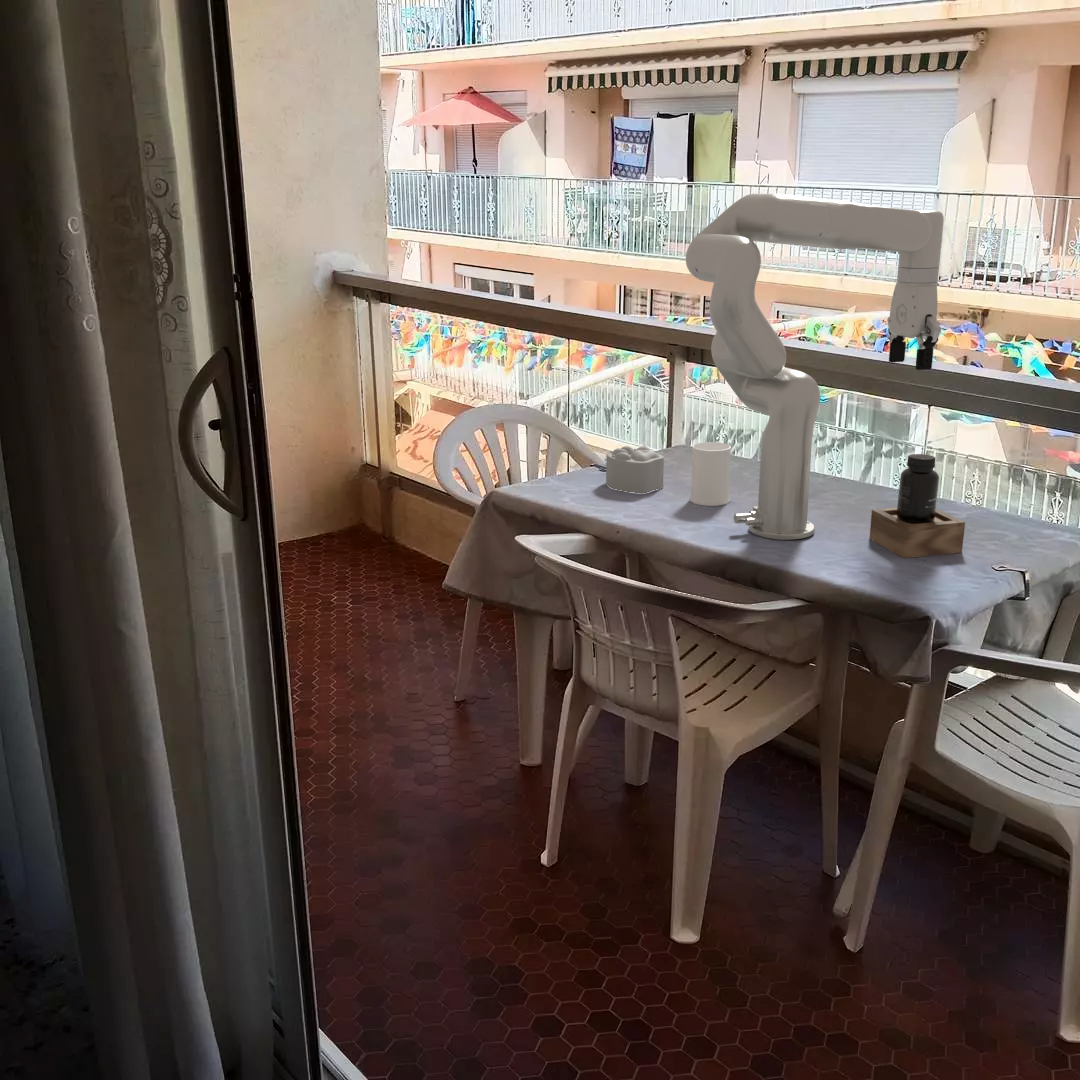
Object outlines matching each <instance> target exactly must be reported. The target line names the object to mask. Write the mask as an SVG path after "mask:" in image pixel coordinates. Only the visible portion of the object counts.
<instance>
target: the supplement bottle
mask: <svg viewBox="0 0 1080 1080" xmlns="http://www.w3.org/2000/svg"><path fill="white" fill-rule="evenodd" d="M906 466H907V468H905V469H904V470H902V472H901V473H900V477H899V484H898V485H899V486H898V487H899V488H898V497H897V506H896V507H897V517H898V519H900V520H901V521H904V522H908V523H916V524H921V523H930V522H932V521H933V520H934V518H935V511H936V508H937V501H938V491H939V482H940V476H939V473H938V472H937V471H935V470H934V469H935V468H936V457H935V456H933V455H930V454H923V453H913V454H909V455H908V456H907V462H906Z"/></svg>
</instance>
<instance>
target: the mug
mask: <svg viewBox="0 0 1080 1080" xmlns="http://www.w3.org/2000/svg"><path fill="white" fill-rule="evenodd" d="M691 451H692V452H691V453H692V456H691V457H692V459H691V484H690V485H691V489H690V490H691V491H690V496H689V501H690V502H691V503H692V502H693V504H695V505H697V506H698V505H699V506H704V507H705V506H707V507H708V506H709V507H719V506H724V505H727V504H729V503H730V501H731V497H730V480H731V479H730V477H731V456H732V455H731V453H732V446H731V445H729V444H728V443H724V442H716V441H712V442H711V441H705V442H703V441H702V442H698V443H695V444H693V445H692V450H691Z"/></svg>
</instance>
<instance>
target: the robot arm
mask: <svg viewBox="0 0 1080 1080" xmlns="http://www.w3.org/2000/svg"><path fill="white" fill-rule="evenodd" d="M944 217H945V216H944V214H943V212H941V210H940V211H939V210H936V209H906V208H897V207H896V208H895V207H889V206H888V207H887V206H877V205H870V204H862V203H857V202H850V201H847V200H846V201H845V200H839V199H838V200H836V199H831V198H830V199H827V198H819V197H811V196H802V195H793V194H785V193H784V194H783V193H750V194H746V195H744V196H743V197H741V198H739V199H738V200H736V201H735V202H734V203H733V204H731V205H730V206H729V207H728V208H727V209H725V210H724V211H723V212H722V213H720V215H719V216H717V217H716V218H715V219H714V220H713V221H712V222H710V223H709V224H708V225H707V226H705V228H704V229H702V230H701V231H700V232H699V233H698V234H697V235H695V236H694V238H693V239H692V240H691V242H690V243H689V245H688V247H687V250H686V253H685V264H686V268H687V270H688V271H689V273H690V274H691V275H692V276H693V277H694V278H695V279H697V280H700V281H704V282H709V283H713V284H712V289H711V293H710V300H709V312H708V314H709V318H710V321H711V323H712V325H713V327H714V329H715V331H716V332H715V334H714V336H713V337H712V341H711V349H710V350H711V353H710V354H711V357H712V361H713V362H714V366H715V367H716V369H717V370H718V372H719V373H720V374H721V376H722V377H723V378H724V380H725V382H726V383H727V384H728V386H729V387H730V389H731V390H732V392H734V394H735V395H736V397H737V398H738V399H739V401H741V403H742V404H744V406H746V407H747V408H748V409H750V410H752V411H754V412H757V413H759V414H762V415H766V416H768V421H767V424H766V426H765V428H764V430H763V433H762V436H761V440H760V441H761V442H760V460H759V475H758V476H759V477H758V478H759V480H758V481H759V482H758V497H757V498H758V501H757V505H755V506H752V510H750V511H748V513H747V512H745V513H744V512H742V513H734V514H733V522H734V524H745V525H746V526H748V530H749V531H750V532H751V533H752V534H753V535H756V536H758V537H761V538H765V539H770V540H771V539H772V540H782V541H783V540H786V541H791V540H801V539H805V538H809V537H811V536H812V535H814V534H815V530H816V529H815V525H814V524H813V523H812V522H810V521H809V520H808V513H809V512H808V510H809V496H810V495H809V493H810V482H811V480H810V479H811V478H810V477H811V464H812V450H813V449H812V447H813V437H814V436H813V435H814V429H815V422H816V419H817V416H818V411H819V407H820V404H821V391H820V387H819V385H818V382H817V381H816V380H815V379H814V377H812V376H811V375H810V374H807V373H806V372H803V371H801V370H798V369H794V368H793V369H792V368H790V367H785V366H786V362H787V352H786V351H787V350H786V348H785V345H784V343H783V341H782V339H781V338H780V337H779V335H778V334H777V332H776V331H775V330H774V328H773V327H772V325H771V323H770V322H769V320H768V319H767V318H766V317H765V315H764V314H763V312H762V311H761V308H760V307H759V305H758V303H757V301H756V296H755V289H756V284H757V279H758V277H759V274H760V270H761V265H762V264H761V263H762V260H761V259H762V256H761V252H760V249H759V248H758V245H757V244H756V243H755V242H758V243H759V242H761V243H770V244H780V245H790V246H801V247H812V248H821V249H835V250H857V249H858V250H859V249H860V250H874V251H880V252H895V253H899V254H898V263H897V264H898V265H897V274H896V275H897V277H896V283H895V286H894V289H893V293H892V298H891V304H890V310H889V316H888V317H887V326H888V329H887V332H888V334H889V337H888V340H889V355H888V362H889V363H903V362H904V361H905V357H906V346H907V341H905V339H906V338H908V339H914V338H916V341H917V344H918V347H919V348H916V357H915V370H918V371H922V370H924V371H925V370H932V367H933V361H934V360H933V359H934V357H933V356H934V349H936V346H937V343H938V342H939V337H940V334H941V332H942V327H941V326H940V324H939V323H938V322H937V318H938V282H939V273H940V265H941V264H940V263H941V251H942V242H943V241H942V240H943V231H944V223H945V222H944V219H945V218H944Z"/></svg>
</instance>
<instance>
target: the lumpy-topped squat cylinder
mask: <svg viewBox="0 0 1080 1080" xmlns="http://www.w3.org/2000/svg"><path fill="white" fill-rule="evenodd" d="M605 458H606V459H605V464H606V465H605V467H606V468H605V469H606V470H605V475H606V476H605V478H606V479H605V481H606V482H605V485H606V484H607V485H608V486H609V487H611V488H613V489H617V490H622V491H627V492H635V493H647V492H650V491H652V490H656V489H660V488H662V487H663V488H664V475H665V474H664V472H665V470H664V469H665V467H664V466H665V457H664V455H662V454H659V453H657V452H656V451H653V450H651V449H650V448H649V447H647V446H645V445H642V446H640V447H638V448H633V447H631V446H629V445H624V446H622V447H621V448H618V447H617V448H615V449H613V450H610V451H609V452H607V453H606V455H605ZM663 488H662V489H663ZM660 490H661V489H660ZM656 491H657V490H656Z"/></svg>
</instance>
